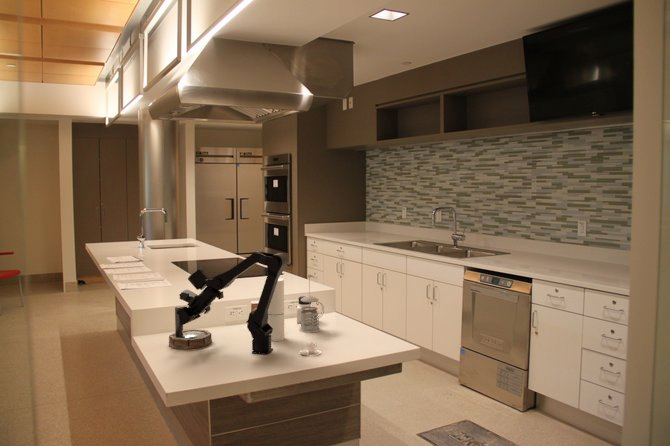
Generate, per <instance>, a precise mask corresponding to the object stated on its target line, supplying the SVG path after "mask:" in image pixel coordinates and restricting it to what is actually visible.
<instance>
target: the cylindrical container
mask: <svg viewBox="0 0 670 446" xmlns="http://www.w3.org/2000/svg"><path fill="white" fill-rule="evenodd" d="M267 323H268V324H269V325H270V326H271V327H272V328H273V331H272V333H271V334H270V335H271V342H275V341H276V342H277V341H278V342H279V341H283V340H285V279H284V278H280V277H279V278H278V281H277V284H276V287H275V290H274V293H273V297H272V300H271V303H270V306H269V309H268V322H267Z"/></svg>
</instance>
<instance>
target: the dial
mask: <svg viewBox="0 0 670 446" xmlns="http://www.w3.org/2000/svg"><path fill="white" fill-rule="evenodd" d="M181 307H182V306H176V307H174V322H175V323H174V324H175V325H174V326H175V327H174V329H175V332H174V333H175V334H176V335H175V336H174V337H175V338H176V339H195V338H201V337H204V336H205V335H206V333H205V332H201V331H188V332H183V331H184V325H182V326H181V325H180V322H181V320H182V318H181V317H180V316H179V315H178V314H177V313H176V311H177V310H178V309H179V308H181Z"/></svg>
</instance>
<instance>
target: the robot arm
mask: <svg viewBox="0 0 670 446" xmlns="http://www.w3.org/2000/svg"><path fill="white" fill-rule="evenodd" d="M256 264H261V265H263V266H267V267H266V273H267V276H266V279H265V282H264V285H263V288H262V291H261V294H260V297H259V299H258V301H259V303H258V306H257V309H256V310H254V311H252V312H251V311H250V313H249V315H248V319H247V320H246V325H247V326H246V327H247V330H248V331H249V332H250V335H251V338H252V340H251V343H252V344H251V348H252V351H251V354H259V355H268V354H270V353H271V352H272V351H273V350H274V348H273V347H272V341H271V335H270V334H271V333H272V331H273V328H272V327H271V326H270V325H269V324H268V323H267V322H268V309H269V306H270V303H271V300H272V297H273V293H274V290H275V287H276V284H277V281H278V278H280V277H281V275H282V274H283V272H284V271H285V269H286V267H287V265H288V264H289V259H288V256H287V255H286V254H285V253H282V252H279V253H274V252H273V253H271V252H265V251H261V250H258V251H253V252H252V253H251V254H250V255H249V256H247V257H246V258H244V259H243V260H242V261H240V262H239V263H237V264H236V265H234V266H233V267H231V268H229V269H228V270H226V271H223V272H221V273H218V275H214V276H212V277H210V276H208V275H207V273H205V271H204V269H202V268H198V269H197V270H196V271H194V272H193V273H192V274H190V275H189V276H188V277H187V281H188V282H189V283H190V284H191V285H193V287H194V288H195V290H197V291H198V290H200V293H199V294H197V293H196V292H194V291H192V290H190V289H184V290H181V292H180V294H179V300H181V301H185V302H186V303H187V306H186V305H185V306H180V307H181V308H179V309H178V310H177V311H176V313H177V314H178V315H179V316H180V317H181V318H182V320H181V322H180V325H181V326H182V325H183V326H184V325H185V324H188V323H191V322H193V321H195V320H197V319H199V318H200V317H201V314H204V315H206V314H208V313H209V312H210V311H211V306H212V303H213V302H214V301H215V300H216V298H217V299H218V300H221V299H224V297H225V296H224V290H223V289H226V288H228V287H230V286H231V285H232V284H233V283H234V282H235V280H236V279H237V278H238V277H239V276H241V275H242V274H244V273H245V272H246V271H248V270H249V269H251V268H252V267H254V266H255V265H256ZM221 290H223V291H221Z"/></svg>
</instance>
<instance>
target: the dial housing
mask: <svg viewBox="0 0 670 446" xmlns="http://www.w3.org/2000/svg"><path fill="white" fill-rule="evenodd" d="M188 331H201V332H205V333H206V335H205V336H204V337H201V338H195V339H176V338H175V337H174V336H175V335H176V334H175V332H173V333H171V334H169V335H168V346H169V347H170V348H171V349H175V350H196V349H200V348H205V347H207V346H209V345H211V344H212V343H213V338H212V332H210V331H208V330H206V329H194V328H193V329H185V330H184V329H183V332H188Z"/></svg>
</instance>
